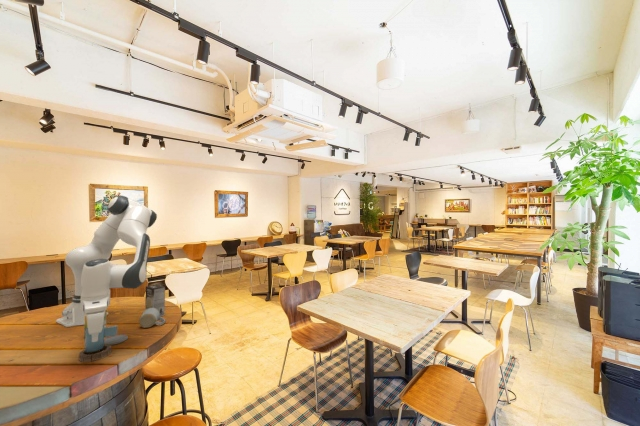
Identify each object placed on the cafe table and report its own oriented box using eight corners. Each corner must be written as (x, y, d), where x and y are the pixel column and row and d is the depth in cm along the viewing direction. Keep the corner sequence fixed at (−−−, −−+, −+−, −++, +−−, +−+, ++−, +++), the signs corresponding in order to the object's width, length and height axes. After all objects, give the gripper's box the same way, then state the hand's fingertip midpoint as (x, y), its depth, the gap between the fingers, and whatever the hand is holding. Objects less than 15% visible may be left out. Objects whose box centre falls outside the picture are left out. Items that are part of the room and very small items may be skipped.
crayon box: (103, 331, 124) (104, 306, 124) (106, 333, 122) (107, 307, 123) (84, 337, 117) (84, 311, 118) (87, 339, 116) (87, 312, 116)
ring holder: (73, 359, 99) (73, 353, 99) (100, 347, 108) (100, 342, 108) (89, 363, 96) (89, 357, 96) (116, 351, 105) (116, 346, 105)
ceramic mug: (137, 329, 126) (138, 313, 126) (142, 323, 133) (142, 308, 134) (163, 327, 130) (164, 311, 130) (166, 321, 137) (166, 306, 137)
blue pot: (84, 353, 98) (85, 331, 98) (84, 348, 102) (85, 327, 102) (117, 345, 104) (117, 325, 105) (116, 340, 109) (116, 321, 109)
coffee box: (144, 316, 144) (144, 286, 145) (156, 312, 150) (157, 284, 150) (152, 319, 139) (153, 288, 140) (165, 315, 145) (165, 286, 145)
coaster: (96, 343, 112) (96, 342, 112) (118, 335, 120) (118, 333, 120) (110, 347, 109) (110, 345, 109) (132, 337, 117) (132, 336, 117)
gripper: (85, 297, 108) (84, 331, 108) (84, 310, 93) (83, 350, 92) (105, 294, 112) (104, 327, 112) (107, 306, 97) (106, 344, 97)
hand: (94, 338), depth 102 cm, fingers closed on blue pot, 6 cm apart
